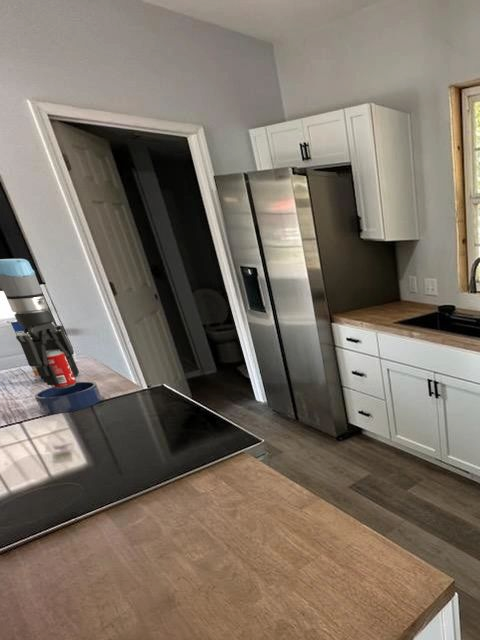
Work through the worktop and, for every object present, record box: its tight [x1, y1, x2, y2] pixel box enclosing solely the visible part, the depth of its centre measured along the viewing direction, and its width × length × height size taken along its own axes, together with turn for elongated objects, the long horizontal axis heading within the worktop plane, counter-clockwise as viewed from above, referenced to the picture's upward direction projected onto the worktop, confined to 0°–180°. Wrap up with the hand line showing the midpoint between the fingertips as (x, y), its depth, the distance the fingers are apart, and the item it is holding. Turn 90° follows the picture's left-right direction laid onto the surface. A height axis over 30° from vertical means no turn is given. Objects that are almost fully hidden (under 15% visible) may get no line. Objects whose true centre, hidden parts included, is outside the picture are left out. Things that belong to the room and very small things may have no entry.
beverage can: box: [46, 349, 77, 389], centre depth 133 cm, size 6×6×12 cm
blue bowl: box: [34, 381, 103, 415], centre depth 137 cm, size 14×14×6 cm
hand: (62, 380), depth 135 cm, fingers closed on beverage can, 6 cm apart
